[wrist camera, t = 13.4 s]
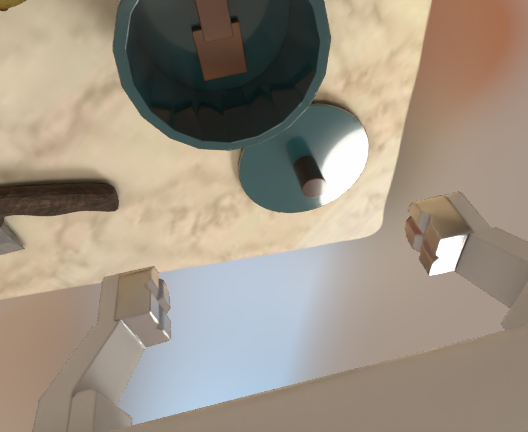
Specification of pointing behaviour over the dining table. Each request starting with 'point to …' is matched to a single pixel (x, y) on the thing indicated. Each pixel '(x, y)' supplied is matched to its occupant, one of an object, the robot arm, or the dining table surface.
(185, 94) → the pot
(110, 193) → the cleaver
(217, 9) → the brown stepped bar
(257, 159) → the lid
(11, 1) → the potato
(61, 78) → the dining table surface
